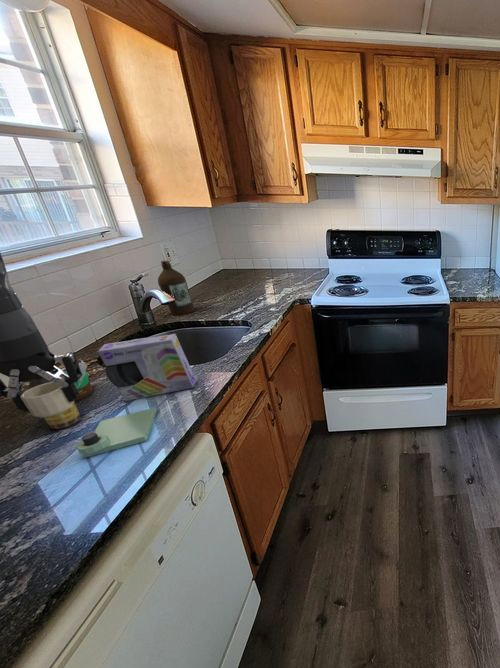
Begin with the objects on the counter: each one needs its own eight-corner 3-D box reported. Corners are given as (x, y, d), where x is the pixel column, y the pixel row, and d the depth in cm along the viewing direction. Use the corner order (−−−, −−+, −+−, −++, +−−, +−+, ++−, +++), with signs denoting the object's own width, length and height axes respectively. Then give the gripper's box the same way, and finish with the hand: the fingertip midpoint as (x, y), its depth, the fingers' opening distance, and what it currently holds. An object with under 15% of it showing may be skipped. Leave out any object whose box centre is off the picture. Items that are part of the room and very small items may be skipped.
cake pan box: (119, 402, 108) (92, 350, 100) (126, 393, 112) (101, 342, 104) (193, 389, 113) (173, 338, 106) (197, 381, 117) (178, 332, 110)
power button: (84, 447, 86) (80, 440, 86) (87, 441, 89) (83, 434, 88) (97, 443, 88) (94, 437, 87) (101, 437, 90) (97, 431, 89)
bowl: (27, 422, 74) (13, 401, 71) (41, 405, 79) (29, 386, 77) (68, 413, 76) (56, 393, 74) (79, 397, 81) (69, 378, 79)
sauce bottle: (47, 433, 96) (6, 368, 87) (55, 421, 100) (16, 358, 92) (80, 424, 99) (44, 360, 90) (86, 413, 104) (52, 351, 95)
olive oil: (165, 313, 176) (145, 262, 165) (188, 306, 184) (171, 257, 173) (177, 317, 171) (157, 264, 160) (200, 309, 179) (183, 259, 169)
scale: (78, 462, 86) (73, 452, 85) (99, 425, 98) (94, 416, 97) (145, 443, 91) (140, 434, 90) (156, 411, 103) (152, 402, 102)
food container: (58, 411, 105) (40, 381, 100) (46, 407, 107) (28, 378, 102) (107, 388, 115) (93, 361, 111) (95, 385, 117) (81, 358, 113)
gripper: (66, 319, 76) (101, 387, 83) (-32, 334, 70) (14, 405, 77) (50, 332, 70) (89, 404, 77) (-59, 349, 64) (-6, 425, 71)
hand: (51, 404), depth 77 cm, fingers closed on bowl, 6 cm apart
